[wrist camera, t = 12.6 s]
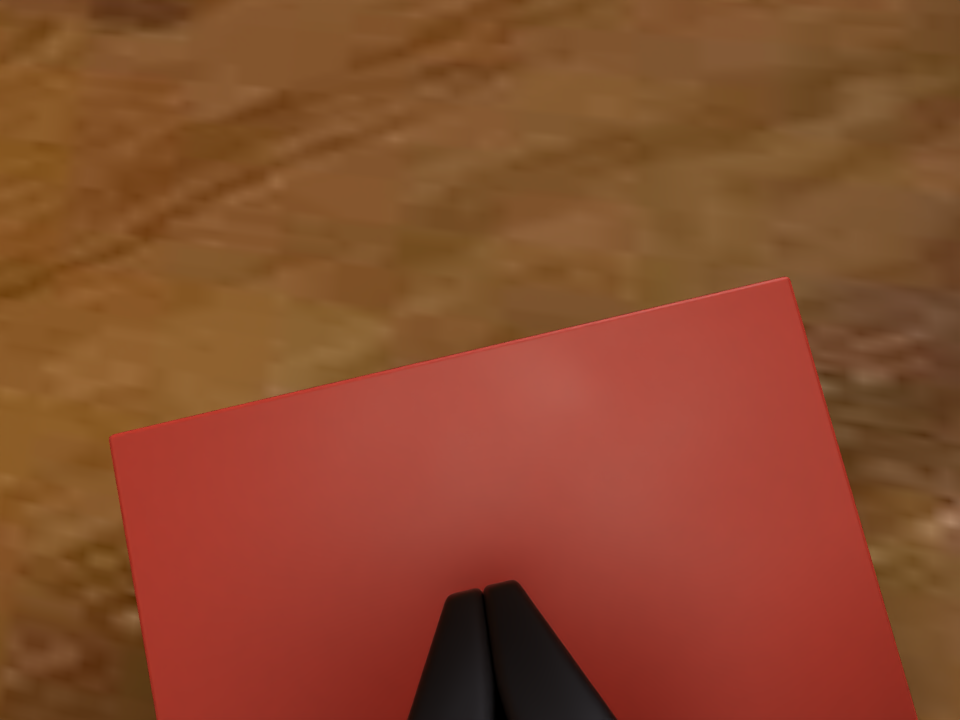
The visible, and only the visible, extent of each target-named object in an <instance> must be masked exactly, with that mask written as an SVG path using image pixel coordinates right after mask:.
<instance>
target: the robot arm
mask: <svg viewBox="0 0 960 720" xmlns="http://www.w3.org/2000/svg"><path fill="white" fill-rule="evenodd" d="M407 720H618V719H617V718H616V717H615V715H614V714H613V712H612V711H611V710H610V708H609V707H608V705H607V704H606V703H605V701H604V700H603V699H602V697H601V696H600V694H599V693H598V692H597V690H596V689H595V687H594V686H593V685H592V683H591V682H590V680H589V679H588V678H587V676H586V675H585V674H584V672H583V671H582V669H581V668H580V667H579V665H578V664H577V662H576V661H575V660H574V658H573V657H572V655H571V654H570V653H569V651H568V650H567V648H566V647H565V646H564V644H563V643H562V642H561V640H560V639H559V637H558V636H557V635H556V633H555V632H554V630H553V629H552V628H551V626H550V625H549V623H548V622H547V621H546V619H545V618H544V617H543V615H542V614H541V612H540V611H539V610H538V608H537V607H536V605H535V604H534V603H533V601H532V600H531V598H530V597H529V596H528V594H527V593H526V591H525V590H524V589H523V587H522V586H521V585H520V583H519V582H517V581H516V580H508V581H504V582H499V583H495V584H491V585H488V586H486V587H485V588H484V590H483V592H482V591H481V590H480V589H478V588H474V589H470V590H465V591H461V592H457V593H453V594H450V595H449V596H448V597H447V599H446V600H445V603H444V606H443V609H442V612H441V615H440V618H439V621H438V624H437V628H436V631H435V634H434V637H433V640H432V643H431V646H430V650H429V653H428V656H427V659H426V662H425V665H424V668H423V671H422V675H421V678H420V681H419V684H418V687H417V690H416V693H415V697H414V700H413V703H412V706H411V709H410V712H409V715H408V719H407Z"/></svg>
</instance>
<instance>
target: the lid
mask: <svg viewBox="0 0 960 720" xmlns="http://www.w3.org/2000/svg"><path fill="white" fill-rule="evenodd" d="M109 443H110V449H111V454H112V460H113V466H114V472H115V478H116V484H117V490H118V495H119V501H120V507H121V513H122V519H123V525H124V531H125V536H126V542H127V548H128V554H129V560H130V566H131V572H132V577H133V583H134V589H135V595H136V601H137V607H138V613H139V618H140V624H141V630H142V636H143V642H144V648H145V654H146V659H147V665H148V671H149V677H150V683H151V689H152V695H153V700H154V706H155V712H156V718H157V720H407V719H408V715H409V712H410V709H411V706H412V703H413V700H414V697H415V693H416V690H417V687H418V684H419V681H420V678H421V675H422V671H423V668H424V665H425V662H426V659H427V656H428V653H429V650H430V646H431V643H432V640H433V637H434V634H435V631H436V628H437V624H438V621H439V618H440V615H441V612H442V609H443V606H444V603H445V600H446V599H447V597H448V596H449V595H450V594H453V593H457V592H461V591H465V590H470V589H474V588H478V589H480V590H481V591H482V592H483V590H484V588H485V587H486V586H488V585H491V584H495V583H499V582H504V581H508V580H516V581H517V582H519V583H520V585H521V586H522V587H523V589H524V590H525V591H526V593H527V594H528V596H529V597H530V598H531V600H532V601H533V603H534V604H535V605H536V607H537V608H538V610H539V611H540V612H541V614H542V615H543V617H544V618H545V619H546V621H547V622H548V623H549V625H550V626H551V628H552V629H553V630H554V632H555V633H556V635H557V636H558V637H559V639H560V640H561V642H562V643H563V644H564V646H565V647H566V648H567V650H568V651H569V653H570V654H571V655H572V657H573V658H574V660H575V661H576V662H577V664H578V665H579V667H580V668H581V669H582V671H583V672H584V674H585V675H586V676H587V678H588V679H589V680H590V682H591V683H592V685H593V686H594V687H595V689H596V690H597V692H598V693H599V694H600V696H601V697H602V699H603V700H604V701H605V703H606V704H607V705H608V707H609V708H610V710H611V711H612V712H613V714H614V715H615V717H616V718H617V719H618V720H918V718H917V715H916V711H915V708H914V704H913V701H912V698H911V694H910V691H909V687H908V684H907V680H906V677H905V673H904V670H903V667H902V663H901V660H900V656H899V653H898V649H897V646H896V643H895V639H894V636H893V632H892V629H891V625H890V622H889V618H888V615H887V612H886V608H885V605H884V601H883V598H882V594H881V591H880V587H879V584H878V581H877V577H876V574H875V570H874V567H873V563H872V560H871V556H870V553H869V550H868V546H867V543H866V539H865V536H864V532H863V529H862V526H861V522H860V519H859V515H858V512H857V508H856V505H855V501H854V498H853V495H852V491H851V488H850V484H849V481H848V477H847V474H846V470H845V467H844V464H843V460H842V457H841V453H840V450H839V446H838V443H837V439H836V436H835V433H834V429H833V426H832V422H831V419H830V415H829V412H828V408H827V405H826V402H825V398H824V395H823V391H822V388H821V384H820V381H819V378H818V374H817V371H816V367H815V364H814V360H813V357H812V353H811V350H810V347H809V343H808V340H807V336H806V333H805V329H804V326H803V322H802V319H801V316H800V312H799V309H798V305H797V302H796V298H795V295H794V291H793V288H792V285H791V281H790V279H789V277H780V278H776V279H772V280H768V281H763V282H759V283H755V284H751V285H746V286H742V287H738V288H734V289H729V290H725V291H721V292H717V293H712V294H708V295H704V296H700V297H695V298H691V299H687V300H683V301H678V302H674V303H670V304H666V305H661V306H657V307H653V308H649V309H644V310H640V311H636V312H632V313H627V314H623V315H619V316H615V317H610V318H606V319H602V320H598V321H593V322H589V323H585V324H581V325H576V326H572V327H568V328H564V329H559V330H555V331H551V332H547V333H542V334H538V335H534V336H530V337H525V338H521V339H517V340H513V341H508V342H504V343H500V344H496V345H491V346H487V347H483V348H479V349H474V350H470V351H466V352H462V353H457V354H453V355H449V356H445V357H440V358H436V359H432V360H428V361H423V362H419V363H415V364H411V365H406V366H402V367H398V368H394V369H389V370H385V371H381V372H377V373H372V374H368V375H364V376H360V377H355V378H351V379H347V380H343V381H338V382H334V383H330V384H326V385H321V386H317V387H313V388H309V389H304V390H300V391H296V392H292V393H287V394H283V395H279V396H275V397H270V398H266V399H262V400H258V401H253V402H249V403H245V404H241V405H236V406H232V407H228V408H224V409H219V410H215V411H211V412H207V413H202V414H198V415H194V416H190V417H185V418H181V419H177V420H173V421H168V422H164V423H160V424H156V425H151V426H147V427H143V428H139V429H134V430H130V431H126V432H122V433H118V434H113V435H112V436H110V437H109Z"/></svg>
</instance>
